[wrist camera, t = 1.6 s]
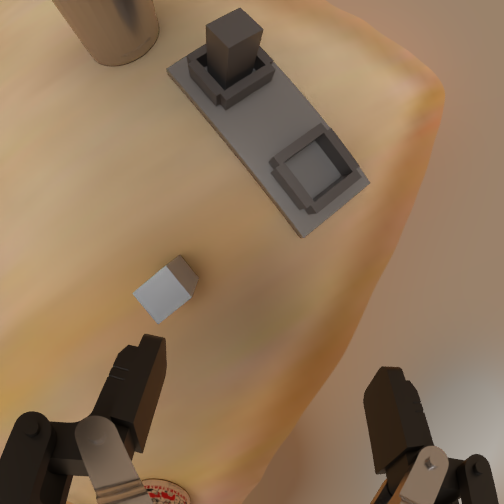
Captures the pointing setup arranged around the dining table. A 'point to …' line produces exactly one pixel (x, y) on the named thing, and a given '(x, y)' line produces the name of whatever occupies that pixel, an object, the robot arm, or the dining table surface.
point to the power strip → (268, 123)
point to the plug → (167, 289)
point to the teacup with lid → (165, 492)
